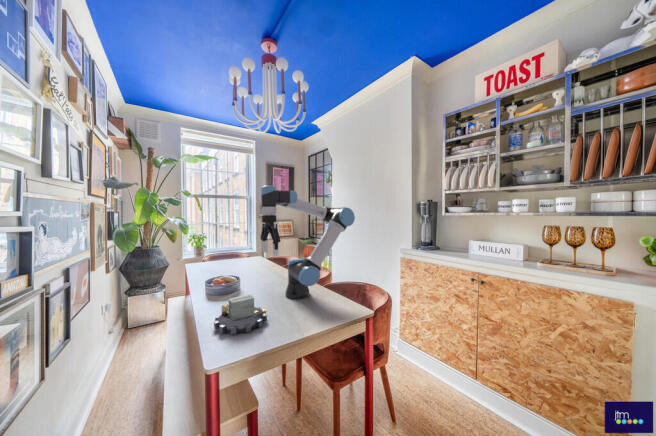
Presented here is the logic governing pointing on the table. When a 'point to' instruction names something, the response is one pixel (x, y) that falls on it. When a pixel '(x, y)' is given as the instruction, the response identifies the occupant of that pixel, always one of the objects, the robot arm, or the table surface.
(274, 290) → the table surface
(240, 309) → the link block
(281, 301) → the table surface
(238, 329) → the sprocket wheel
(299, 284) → the robot arm
